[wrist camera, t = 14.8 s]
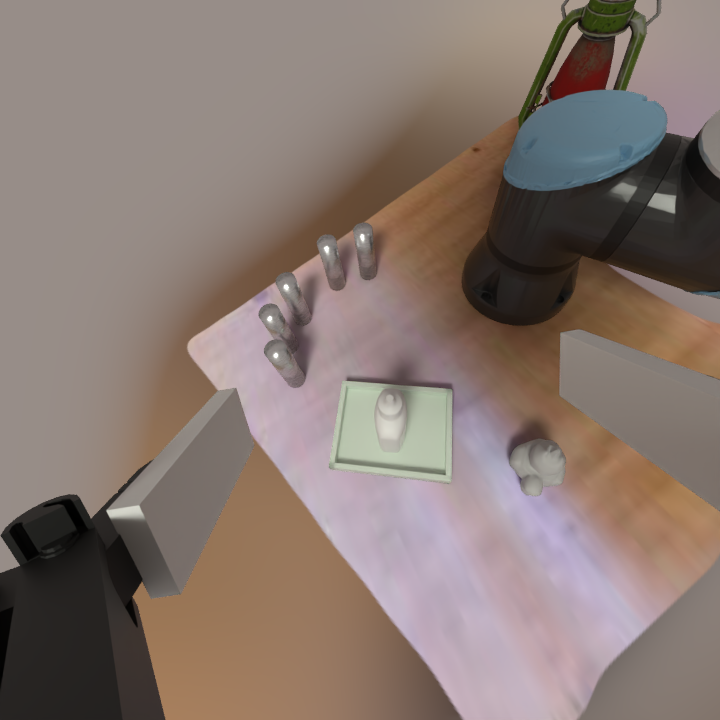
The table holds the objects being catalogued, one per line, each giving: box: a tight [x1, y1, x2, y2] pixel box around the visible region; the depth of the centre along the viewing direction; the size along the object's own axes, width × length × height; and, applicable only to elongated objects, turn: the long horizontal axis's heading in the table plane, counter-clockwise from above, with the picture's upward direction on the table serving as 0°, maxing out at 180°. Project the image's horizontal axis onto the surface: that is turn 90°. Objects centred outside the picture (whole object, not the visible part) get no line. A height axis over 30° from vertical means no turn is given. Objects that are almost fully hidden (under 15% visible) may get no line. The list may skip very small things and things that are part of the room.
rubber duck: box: [509, 438, 566, 496], centre depth 36 cm, size 5×7×8 cm
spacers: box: [259, 223, 376, 388], centre depth 48 cm, size 7×23×9 cm, turn 150°
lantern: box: [518, 0, 661, 129], centre depth 47 cm, size 14×11×30 cm
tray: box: [329, 381, 452, 484], centre depth 42 cm, size 14×11×2 cm
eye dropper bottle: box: [374, 388, 407, 453], centre depth 37 cm, size 4×6×12 cm
